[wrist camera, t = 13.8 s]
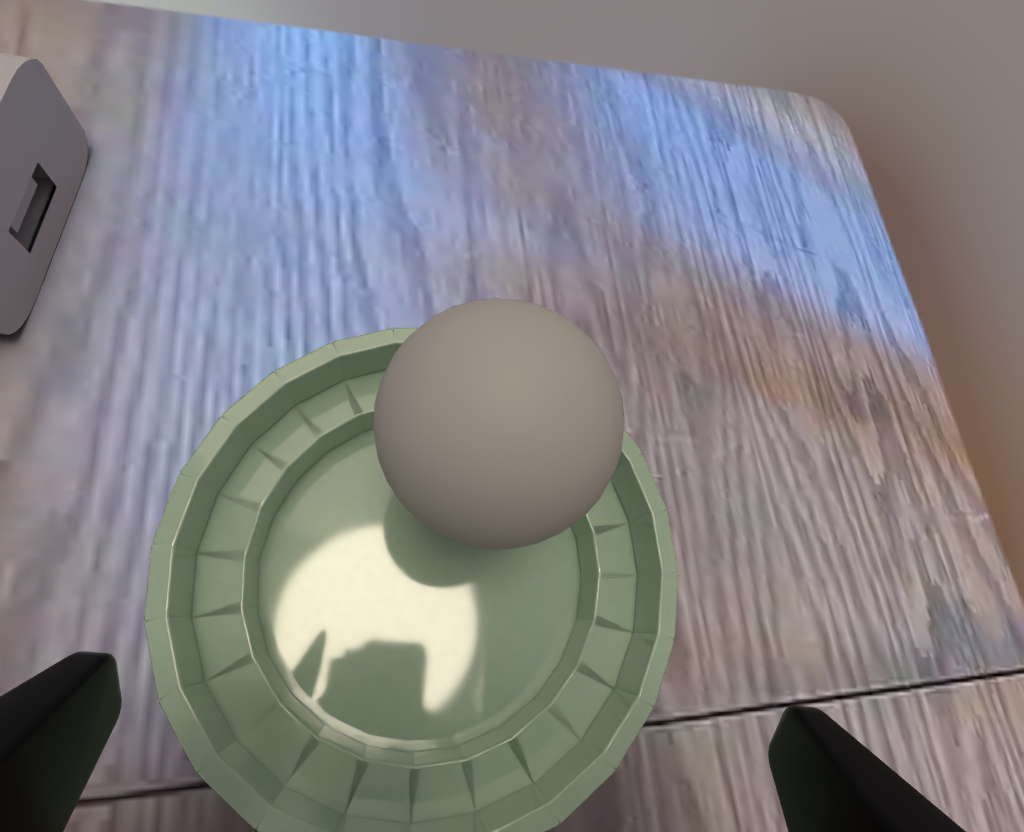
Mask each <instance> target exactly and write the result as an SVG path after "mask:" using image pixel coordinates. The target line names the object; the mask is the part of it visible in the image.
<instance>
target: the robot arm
mask: <svg viewBox="0 0 1024 832" xmlns="http://www.w3.org/2000/svg"><path fill="white" fill-rule="evenodd" d="M121 703H122V699H121V691H120V685H119V678H118V671H117V664H116V660H115V658H114V657H113V656H112V655H111V654H108V653H97V652H77V653H74V654H72V655H70V656H68V657H66V658H64V659H63V660H61V661H59V662H58V663H56V664H54V665H53V666H51V667H49V668H48V669H46V670H44V671H43V672H41V673H39V674H37V675H36V676H34V677H32V678H31V679H29V680H27V681H26V682H24V683H22V684H21V685H19V686H17V687H16V688H14V689H12V690H11V691H9V692H7V693H6V694H4V695H2V696H0V832H63V831H64V829H65V827H66V825H67V823H68V821H69V819H70V816H71V814H72V812H73V810H74V808H75V806H76V804H77V802H78V800H79V798H80V796H81V794H82V792H83V790H84V788H85V786H86V784H87V782H88V780H89V777H90V775H91V773H92V771H93V769H94V767H95V765H96V763H97V761H98V759H99V757H100V755H101V753H102V751H103V749H104V747H105V745H106V743H107V740H108V738H109V736H110V734H111V732H112V730H113V728H114V726H115V724H116V722H117V720H118V717H119V714H120V710H121ZM768 757H769V764H770V768H771V772H772V775H773V779H774V782H775V786H776V789H777V793H778V796H779V800H780V803H781V807H782V810H783V814H784V817H785V821H786V824H787V828H788V831H789V832H966V831H964V830H963V829H962V828H961V827H960V826H958V825H957V824H956V823H955V822H954V821H952V820H951V819H950V818H949V817H948V816H947V815H945V814H944V813H943V812H942V811H941V810H939V809H938V808H937V807H936V806H935V805H933V804H932V803H931V802H930V801H929V800H928V799H926V798H925V797H924V796H923V795H922V794H920V793H919V792H918V791H917V790H916V789H914V788H913V787H912V786H911V785H910V784H909V783H907V782H906V781H905V780H904V779H903V778H901V777H900V776H899V775H898V774H897V773H895V772H894V771H893V770H892V769H891V768H890V767H888V766H887V765H886V764H885V763H884V762H882V761H881V760H880V759H879V758H878V757H876V756H875V755H874V754H873V753H872V752H870V751H869V750H868V749H867V748H866V747H865V746H863V745H862V744H861V743H860V742H859V741H857V740H856V739H855V738H854V737H853V736H851V735H850V734H849V733H848V732H847V731H846V730H844V729H843V728H842V727H841V726H840V725H838V724H837V723H836V722H835V721H834V720H832V719H831V718H830V717H829V716H828V715H827V714H825V713H824V712H823V711H821V710H819V709H817V708H814V707H803V706H789V707H788V708H787V709H785V711H784V713H783V715H782V717H781V719H780V722H779V724H778V726H777V728H776V731H775V733H774V735H773V738H772V740H771V742H770V745H769V751H768Z"/></svg>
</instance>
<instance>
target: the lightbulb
mask: <svg viewBox="0 0 1024 832" xmlns="http://www.w3.org/2000/svg"><path fill="white" fill-rule="evenodd" d="M373 430H374V438H375V444H376V450H377V456H378V460H379V463H380V465H381V468H382V470H383V473H384V475H385V478H386V481H387V482H388V484H389V485H390V487H391V488H392V490H393V492H394V493H395V495H396V496H397V498H398V499H399V501H400V502H401V503H402V504H403V505H404V506H405V507H406V508H407V509H408V510H409V511H410V512H411V513H412V514H413V515H414V516H415V517H416V518H417V519H418V520H419V521H420V522H422V523H423V524H425V525H426V526H428V527H429V528H431V529H432V530H434V531H435V532H437V533H438V534H440V535H442V536H444V537H447V538H449V539H452V540H454V541H456V542H459V543H461V544H464V545H469V546H475V547H480V548H485V549H515V548H520V547H524V546H529V545H533V544H537V543H540V542H542V541H544V540H546V539H549V538H551V537H553V536H555V535H557V534H560V533H561V532H563V531H565V530H566V529H568V528H569V527H571V526H572V525H573V524H575V523H576V522H577V521H579V520H580V519H581V518H583V517H584V516H585V515H586V514H587V513H588V512H589V510H590V509H591V508H592V507H593V506H594V505H595V504H596V503H597V501H598V500H599V499H600V498H601V496H602V494H603V492H604V490H605V489H606V487H607V485H608V483H609V482H610V480H611V478H612V476H613V474H614V472H615V470H616V467H617V464H618V460H619V457H620V454H621V451H622V442H623V432H624V410H623V401H622V396H621V392H620V389H619V386H618V382H617V379H616V376H615V375H614V373H613V371H612V369H611V367H610V365H609V363H608V361H607V359H606V357H605V356H604V355H603V354H602V352H601V351H600V350H599V348H598V347H597V346H596V344H595V343H594V342H593V341H592V339H591V338H590V337H588V336H587V335H586V334H585V333H584V332H583V331H582V330H581V329H580V328H579V327H578V326H577V325H575V324H574V323H572V322H571V321H569V320H568V319H566V318H565V317H563V316H562V315H560V314H559V313H556V312H554V311H552V310H550V309H547V308H545V307H543V306H540V305H537V304H533V303H529V302H525V301H521V300H513V299H499V298H492V299H483V300H473V301H470V302H467V303H463V304H460V305H456V306H453V307H451V308H449V309H447V310H445V311H443V312H441V313H439V314H437V315H435V316H433V317H432V318H431V319H430V320H428V321H427V322H426V323H424V324H423V325H422V326H421V327H419V328H418V329H417V330H416V331H415V332H413V333H412V334H411V335H410V336H409V337H408V338H407V339H406V340H405V342H404V343H403V344H402V345H401V346H400V348H399V349H398V350H397V351H396V353H395V354H394V356H393V358H392V360H391V362H390V364H389V366H388V368H387V370H386V372H385V374H384V375H383V377H382V379H381V381H380V385H379V389H378V393H377V396H376V400H375V404H374V423H373Z"/></svg>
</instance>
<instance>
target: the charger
mask: <svg viewBox="0 0 1024 832" xmlns="http://www.w3.org/2000/svg"><path fill="white" fill-rule="evenodd" d="M87 155H88V143H87V137H86V134H85V131H84V130H83V128H82V127H81V125H80V123H79V122H78V120H77V119H76V117H75V115H74V114H73V112H72V111H71V109H70V107H69V106H68V104H67V103H66V101H65V99H64V98H63V96H62V95H61V93H60V91H59V90H58V88H57V87H56V85H55V83H54V82H53V80H52V79H51V77H50V75H49V74H48V72H47V71H46V69H45V67H44V66H43V64H42V63H41V62H40V61H39V60H37V59H31V58H26V57H21V56H16V55H10V54H5V53H0V334H7V335H10V334H12V333H14V332H16V331H17V330H18V329H19V328H20V327H21V326H22V325H23V323H24V322H25V320H26V319H27V317H28V316H29V314H30V312H31V309H32V307H33V305H34V303H35V300H36V298H37V295H38V293H39V290H40V287H41V285H42V282H43V280H44V277H45V274H46V272H47V269H48V267H49V264H50V261H51V259H52V256H53V254H54V251H55V248H56V246H57V243H58V241H59V238H60V235H61V233H62V230H63V228H64V225H65V222H66V220H67V217H68V215H69V212H70V209H71V207H72V204H73V202H74V199H75V197H76V194H77V191H78V189H79V186H80V184H81V181H82V178H83V175H84V172H85V168H86V162H87Z"/></svg>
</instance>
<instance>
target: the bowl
mask: <svg viewBox="0 0 1024 832" xmlns="http://www.w3.org/2000/svg"><path fill="white" fill-rule="evenodd" d="M417 329H418V328H393V329H386V330H382V331H378V332H373V333H369V334H365V335H360V336H356V337H352V338H347V339H343V340H339V341H335V342H333V344H332V343H329V344H327V345H325V346H323V347H321V348H319V349H317V350H315V351H313V352H311V353H309V354H307V355H305V356H303V357H301V358H299V359H297V360H295V361H293V362H291V363H289V364H287V365H285V366H283V367H281V368H279V369H277V370H275V372H272V373H271V374H269V375H268V376H267V377H266V378H265V379H263V380H262V381H261V382H260V383H259V384H258V385H256V386H255V387H254V388H253V389H252V390H250V391H249V392H248V393H247V394H246V395H244V396H243V397H242V398H241V399H240V400H239V401H237V402H236V403H235V404H234V405H233V406H231V407H230V408H229V409H228V410H227V411H226V412H224V413H223V414H222V416H221V417H220V418H219V419H218V421H217V422H216V423H215V425H214V426H213V427H212V429H211V430H210V432H209V433H208V434H207V436H206V437H205V439H204V440H203V441H202V443H201V444H200V445H199V447H198V448H197V450H196V451H195V452H194V454H193V455H192V457H191V458H190V459H189V461H188V462H187V464H186V465H185V466H184V468H183V469H182V470H181V472H180V474H181V475H179V476H178V478H177V480H176V483H175V486H174V488H173V491H172V493H171V496H170V498H169V501H168V504H167V506H166V509H165V511H164V514H163V517H162V519H161V522H160V524H159V527H158V529H157V532H156V535H155V537H154V540H153V544H154V545H152V547H151V557H150V566H149V576H148V586H147V596H146V606H145V615H144V620H145V621H146V622H145V624H144V626H145V631H146V637H147V642H148V647H149V653H150V658H151V664H152V669H153V674H154V680H155V685H156V691H157V696H158V699H159V700H160V701H159V704H160V706H161V708H162V709H163V711H164V713H165V715H166V717H167V719H168V721H169V723H170V725H171V727H172V728H173V730H174V732H175V734H176V736H177V738H178V740H179V742H180V744H181V746H182V747H183V749H184V751H185V753H186V755H187V757H188V759H189V761H190V763H191V765H192V767H193V768H194V770H195V772H198V775H199V776H200V777H201V778H202V779H203V780H204V781H205V782H206V783H207V784H208V785H209V786H210V787H211V788H212V789H213V790H214V791H215V792H216V793H217V794H218V795H219V796H220V797H221V798H222V799H223V800H224V801H225V802H226V803H228V804H229V805H230V806H231V807H232V808H233V809H234V810H235V811H236V812H237V813H238V814H239V815H240V816H241V817H242V818H243V819H244V820H245V821H246V822H247V823H248V824H249V825H250V826H251V827H252V828H254V829H256V828H257V829H256V830H257V832H546V831H548V830H550V829H551V828H553V827H555V826H557V825H559V824H560V823H562V822H563V821H564V820H565V819H566V818H567V817H568V816H569V815H570V814H571V813H572V812H573V811H574V810H575V809H576V808H578V807H579V806H580V805H581V804H582V803H583V802H584V801H585V800H586V799H587V798H588V797H589V796H590V795H591V794H592V793H593V792H594V791H595V790H596V789H597V788H598V787H600V786H601V785H602V784H603V783H604V782H605V781H606V780H607V779H608V778H609V777H610V776H611V775H612V774H613V773H614V772H615V769H617V768H618V766H619V764H620V763H621V761H622V759H623V758H624V756H625V754H626V753H627V751H628V749H629V748H630V746H631V745H632V743H633V741H634V740H635V738H636V736H637V735H638V733H639V731H640V730H641V728H642V726H643V725H644V723H645V722H646V720H647V718H648V717H649V715H650V713H651V712H652V710H653V706H654V705H655V703H656V700H657V696H658V693H659V690H660V687H661V683H662V680H663V677H664V673H665V670H666V667H667V664H668V660H669V657H670V654H671V651H672V647H673V644H674V640H673V639H675V627H676V609H677V591H678V573H677V572H678V567H677V562H676V556H675V551H674V545H673V540H672V534H671V529H670V523H669V518H668V512H667V511H666V506H665V504H664V502H663V499H662V497H661V495H660V492H659V490H658V488H657V486H656V483H655V481H654V479H653V476H652V474H651V472H650V470H649V467H648V465H647V463H646V460H645V458H644V456H643V454H642V452H641V451H640V449H639V448H638V446H637V445H636V444H635V442H634V441H633V440H632V438H631V437H630V436H629V434H628V433H627V432H626V430H625V429H624V432H623V442H622V451H621V454H620V457H619V460H618V464H617V467H616V470H615V472H614V474H613V476H612V478H611V480H610V482H609V483H608V485H607V487H606V489H605V490H604V492H603V494H602V496H601V498H600V499H599V500H598V501H597V503H596V504H595V505H594V506H593V507H592V508H591V509H590V510H589V512H588V513H587V514H586V515H585V516H584V517H583V518H581V519H580V520H579V521H577V522H576V523H575V524H573V525H572V526H571V527H569V528H568V529H566V530H565V531H563V532H561V533H560V534H557V535H555V536H553V537H551V538H549V539H546V540H544V541H542V542H540V543H537V544H533V545H529V546H524V547H520V548H515V549H485V548H480V547H475V546H469V545H464V544H461V543H459V542H456V541H454V540H452V539H449V538H447V537H444V536H442V535H440V534H438V533H437V532H435V531H434V530H432V529H431V528H429V527H428V526H426V525H425V524H423V523H422V522H420V521H419V520H418V519H417V518H416V517H415V516H414V515H413V514H412V513H411V512H410V511H409V510H408V509H407V508H406V507H405V506H404V505H403V504H402V503H401V502H400V501H399V499H398V498H397V496H396V495H395V493H394V492H393V490H392V488H391V487H390V485H389V484H388V482H387V481H386V478H385V475H384V473H383V470H382V468H381V465H380V463H379V460H378V456H377V450H376V444H375V438H374V430H373V423H374V404H375V400H376V396H377V393H378V389H379V385H380V381H381V379H382V377H383V375H384V374H385V372H386V370H387V368H388V366H389V364H390V362H391V360H392V358H393V356H394V354H395V353H396V351H397V350H398V349H399V348H400V346H401V345H402V344H403V343H404V342H405V340H406V339H407V338H408V337H409V336H410V335H411V334H412V333H413V332H415V331H416V330H417Z"/></svg>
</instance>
